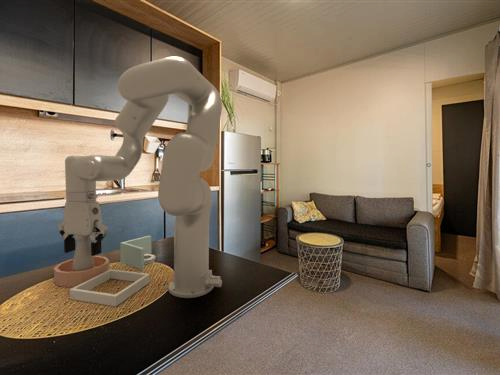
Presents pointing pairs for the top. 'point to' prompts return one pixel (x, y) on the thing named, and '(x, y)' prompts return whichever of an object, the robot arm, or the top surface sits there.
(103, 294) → the rectangular frame
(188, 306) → the top surface
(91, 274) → the bowl
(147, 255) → the right angle wall
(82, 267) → the salt shaker
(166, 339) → the top surface
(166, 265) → the top surface
